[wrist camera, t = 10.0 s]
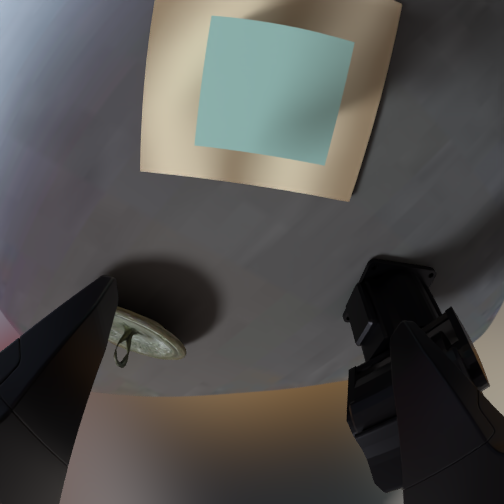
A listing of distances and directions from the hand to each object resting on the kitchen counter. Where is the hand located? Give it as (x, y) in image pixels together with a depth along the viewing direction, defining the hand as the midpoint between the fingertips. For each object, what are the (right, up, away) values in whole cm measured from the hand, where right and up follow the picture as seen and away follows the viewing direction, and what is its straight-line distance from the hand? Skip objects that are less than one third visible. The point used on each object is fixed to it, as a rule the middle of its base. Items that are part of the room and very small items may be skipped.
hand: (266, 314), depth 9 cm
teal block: (0, +11, +6) cm, 12 cm away
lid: (-11, -4, +18) cm, 21 cm away
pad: (0, +11, +6) cm, 13 cm away
